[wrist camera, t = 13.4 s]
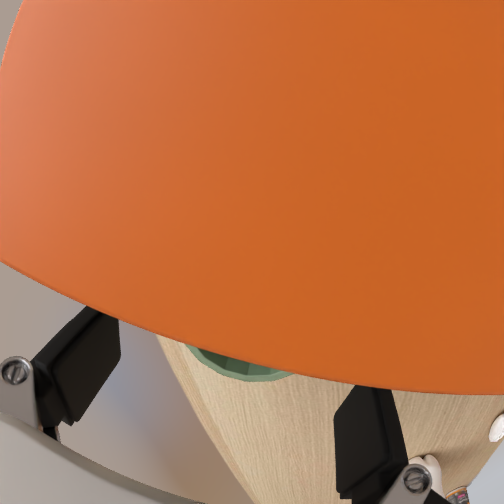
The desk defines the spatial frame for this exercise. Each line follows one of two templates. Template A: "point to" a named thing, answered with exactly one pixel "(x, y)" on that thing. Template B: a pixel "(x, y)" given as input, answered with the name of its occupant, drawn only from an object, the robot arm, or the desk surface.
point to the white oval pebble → (497, 429)
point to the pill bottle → (458, 496)
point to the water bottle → (431, 471)
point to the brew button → (268, 178)
